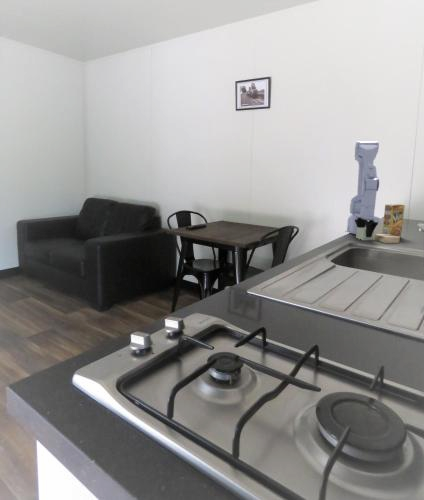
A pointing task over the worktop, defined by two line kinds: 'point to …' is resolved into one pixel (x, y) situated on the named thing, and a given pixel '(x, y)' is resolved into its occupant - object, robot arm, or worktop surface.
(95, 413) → the worktop surface
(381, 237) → the beech block
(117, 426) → the worktop surface
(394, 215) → the candy box
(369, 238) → the sage cube
